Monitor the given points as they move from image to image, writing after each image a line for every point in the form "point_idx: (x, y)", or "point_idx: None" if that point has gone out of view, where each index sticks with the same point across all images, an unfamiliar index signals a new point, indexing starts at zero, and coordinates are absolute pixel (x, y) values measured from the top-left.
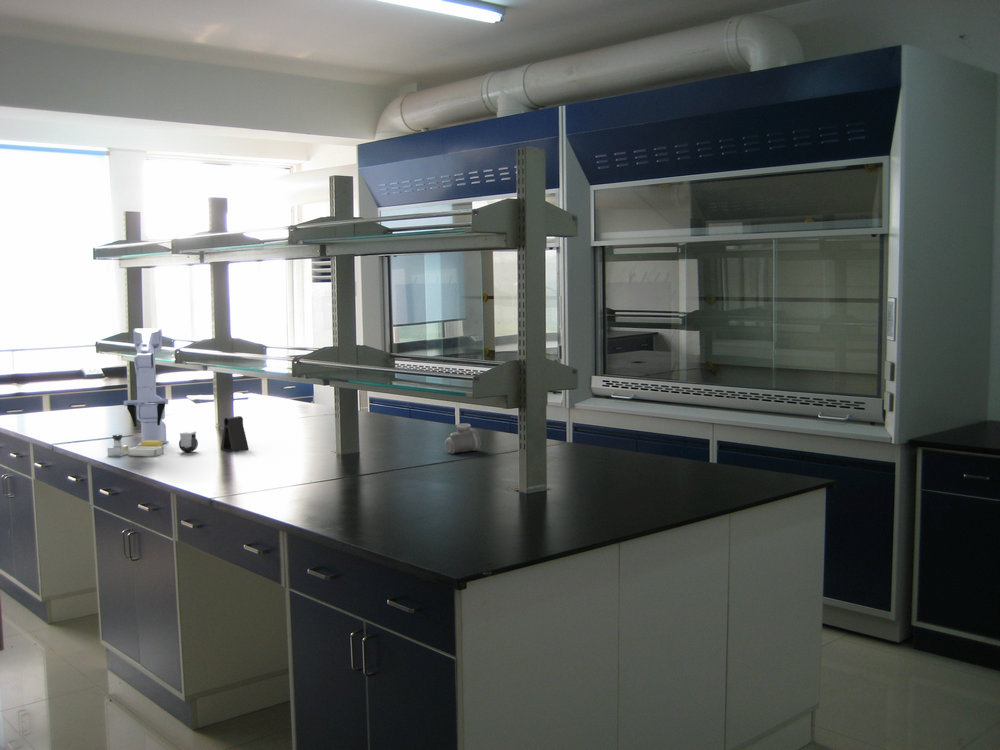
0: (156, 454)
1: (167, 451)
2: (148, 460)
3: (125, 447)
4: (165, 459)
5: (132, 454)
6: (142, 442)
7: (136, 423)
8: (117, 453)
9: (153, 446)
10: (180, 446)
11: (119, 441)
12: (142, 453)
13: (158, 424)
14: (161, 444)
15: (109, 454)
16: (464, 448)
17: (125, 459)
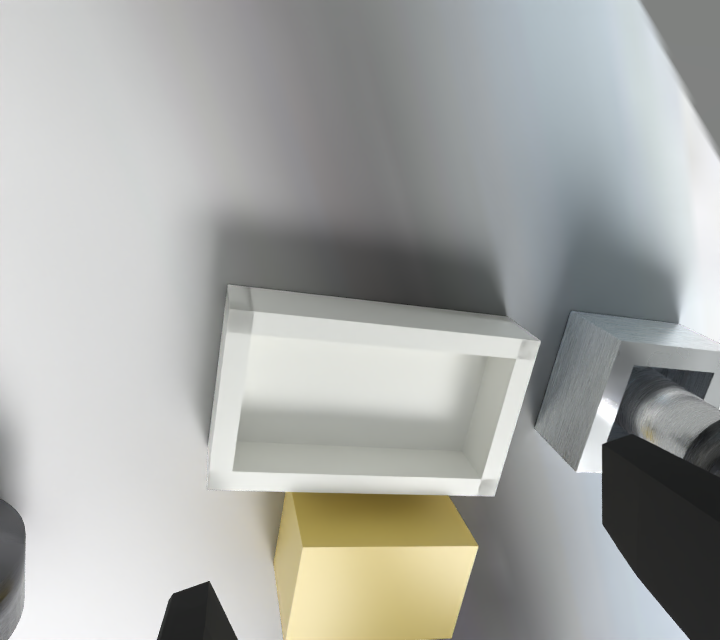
0: (224, 312)
1: (210, 538)
2: (210, 23)
3: (584, 419)
4: (5, 70)
5: (477, 317)
6: (460, 542)
7: (635, 548)
8: (616, 322)
9: (333, 515)
10: (10, 534)
11: (679, 423)
12: (377, 308)
13: (184, 600)
14: (281, 599)
15: (676, 327)
16: None
17: (494, 128)
